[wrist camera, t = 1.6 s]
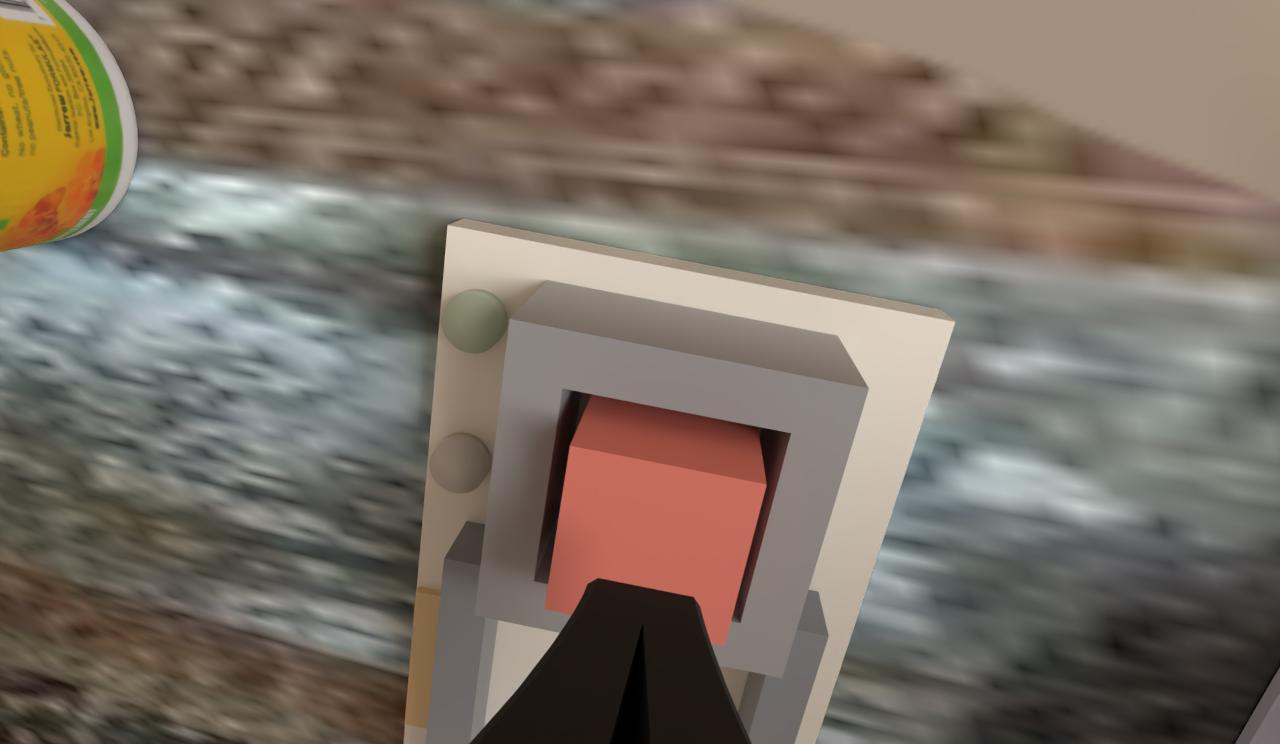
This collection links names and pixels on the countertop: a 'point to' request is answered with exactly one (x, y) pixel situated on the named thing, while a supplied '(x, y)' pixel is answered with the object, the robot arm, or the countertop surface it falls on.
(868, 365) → the panel
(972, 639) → the countertop surface
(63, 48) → the supplement bottle
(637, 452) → the plunger
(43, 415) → the countertop surface
